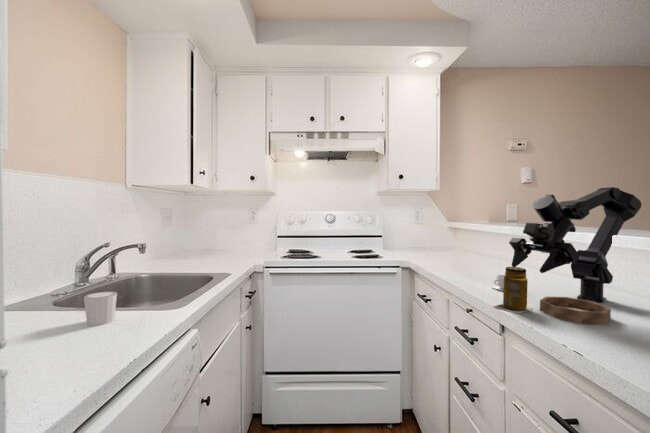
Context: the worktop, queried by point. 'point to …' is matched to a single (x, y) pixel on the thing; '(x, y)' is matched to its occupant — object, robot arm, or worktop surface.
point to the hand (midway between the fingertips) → (526, 269)
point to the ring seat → (575, 310)
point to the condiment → (515, 291)
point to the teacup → (499, 282)
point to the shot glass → (100, 308)
